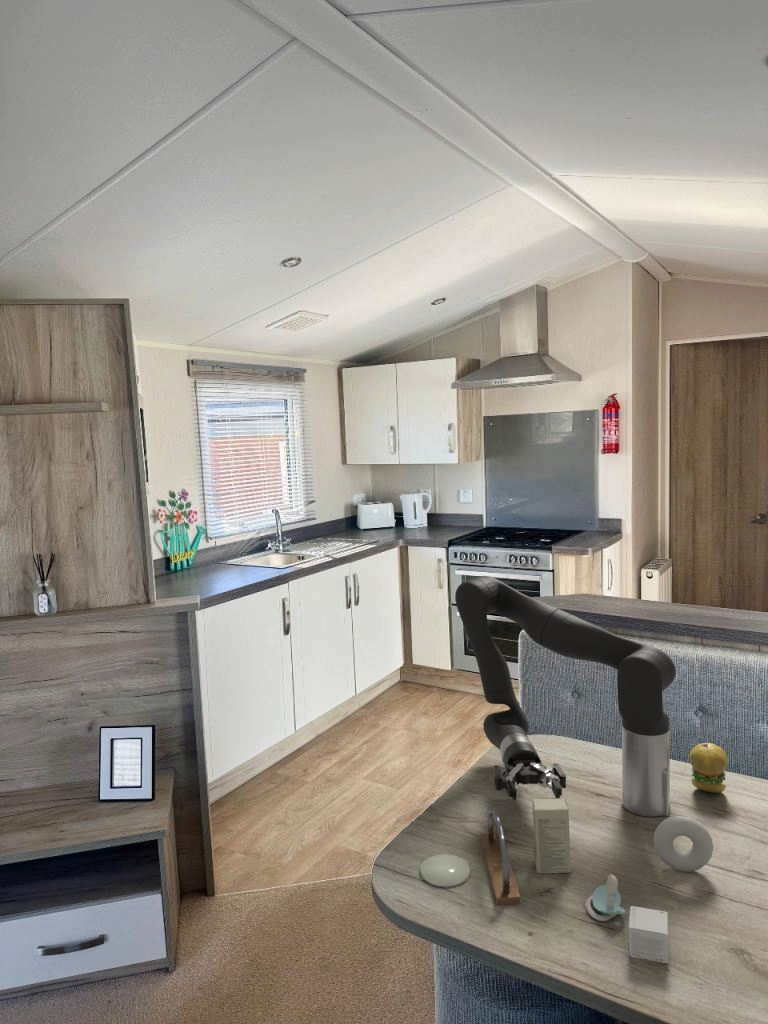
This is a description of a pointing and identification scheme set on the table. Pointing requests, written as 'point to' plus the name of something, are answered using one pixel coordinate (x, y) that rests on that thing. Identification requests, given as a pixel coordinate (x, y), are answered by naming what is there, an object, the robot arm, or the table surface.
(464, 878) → the glossy white rounded disc
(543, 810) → the skincare box
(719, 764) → the hamburger
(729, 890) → the table surface
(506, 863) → the wood and metal stand
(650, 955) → the small box
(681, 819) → the donut
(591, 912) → the pacifier
